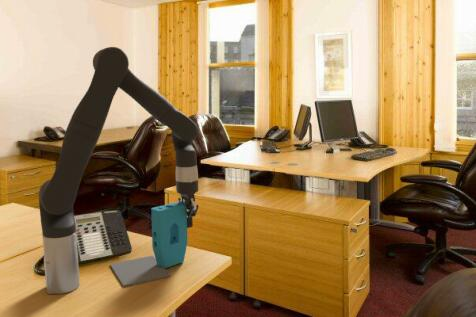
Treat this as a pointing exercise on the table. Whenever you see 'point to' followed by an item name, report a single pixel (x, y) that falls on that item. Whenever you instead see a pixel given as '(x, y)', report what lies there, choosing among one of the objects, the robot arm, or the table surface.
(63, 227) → the robot arm
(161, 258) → the block
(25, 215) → the table surface
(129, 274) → the mat
